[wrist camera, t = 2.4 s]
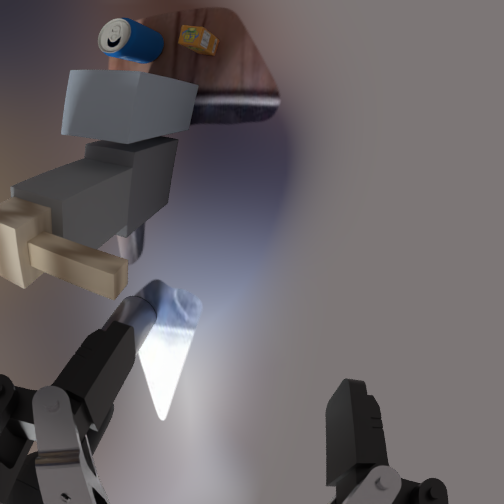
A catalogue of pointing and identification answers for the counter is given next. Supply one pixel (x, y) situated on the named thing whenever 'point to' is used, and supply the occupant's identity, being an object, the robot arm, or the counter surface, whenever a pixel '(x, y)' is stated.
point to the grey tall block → (126, 105)
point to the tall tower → (105, 189)
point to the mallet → (52, 252)
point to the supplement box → (198, 40)
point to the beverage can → (130, 41)
